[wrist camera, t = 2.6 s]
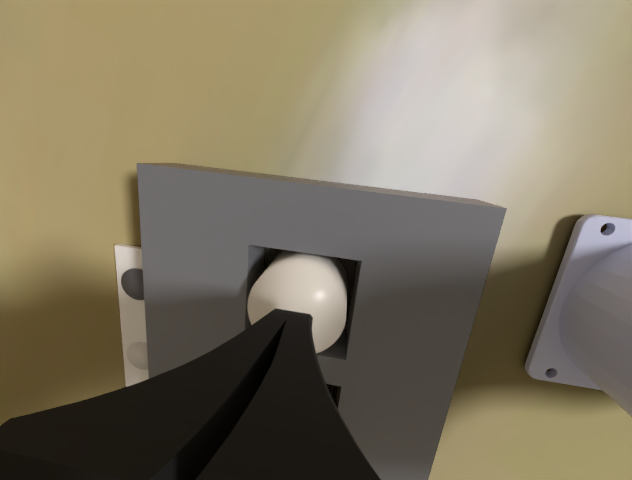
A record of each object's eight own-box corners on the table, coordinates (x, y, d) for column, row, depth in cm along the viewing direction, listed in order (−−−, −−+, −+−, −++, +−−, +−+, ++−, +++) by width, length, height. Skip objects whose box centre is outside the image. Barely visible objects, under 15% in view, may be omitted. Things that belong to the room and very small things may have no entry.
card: (161, 249, 15) (156, 252, 15) (168, 442, 19) (164, 447, 18) (118, 243, 15) (112, 245, 15) (133, 434, 19) (128, 440, 18)
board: (477, 199, 13) (506, 208, 10) (388, 541, 19) (393, 598, 16) (174, 163, 14) (137, 163, 11) (181, 494, 20) (157, 541, 17)
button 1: (353, 250, 14) (353, 273, 11) (341, 325, 15) (339, 363, 12) (270, 238, 14) (249, 257, 11) (264, 312, 15) (245, 346, 12)
